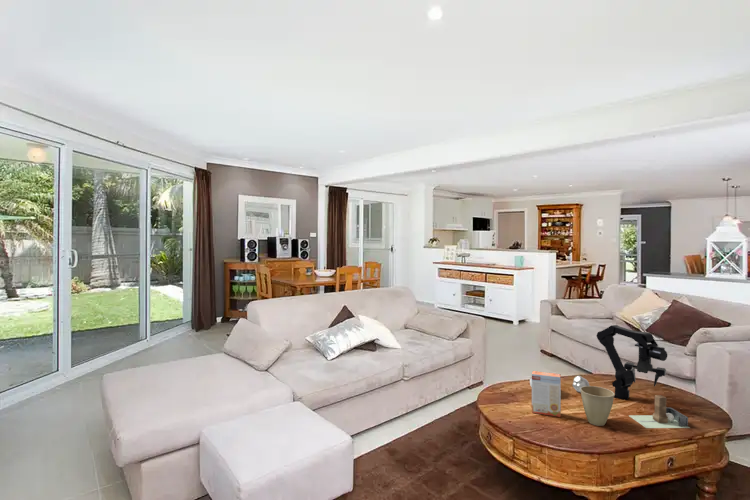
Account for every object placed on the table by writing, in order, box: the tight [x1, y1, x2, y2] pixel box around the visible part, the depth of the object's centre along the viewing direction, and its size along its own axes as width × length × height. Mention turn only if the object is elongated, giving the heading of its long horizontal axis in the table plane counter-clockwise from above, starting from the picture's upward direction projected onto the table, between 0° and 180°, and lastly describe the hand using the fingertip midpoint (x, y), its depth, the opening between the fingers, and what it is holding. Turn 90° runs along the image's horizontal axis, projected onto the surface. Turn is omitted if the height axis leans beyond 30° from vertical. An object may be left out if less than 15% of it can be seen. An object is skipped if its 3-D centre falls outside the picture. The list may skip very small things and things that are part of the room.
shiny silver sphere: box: [572, 375, 590, 394], centre depth 247 cm, size 9×10×10 cm
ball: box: [666, 413, 674, 422], centre depth 206 cm, size 4×4×4 cm
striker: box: [652, 394, 668, 423], centre depth 206 cm, size 4×4×12 cm
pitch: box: [628, 414, 691, 429], centre depth 206 cm, size 21×14×1 cm, turn 90°
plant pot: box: [580, 385, 615, 427], centre depth 206 cm, size 15×15×16 cm
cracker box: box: [531, 370, 562, 418], centre depth 218 cm, size 14×6×21 cm, turn 65°
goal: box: [666, 407, 689, 427], centre depth 206 cm, size 4×12×4 cm, turn 0°
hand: (644, 384), depth 226 cm, fingers open, 9 cm apart
